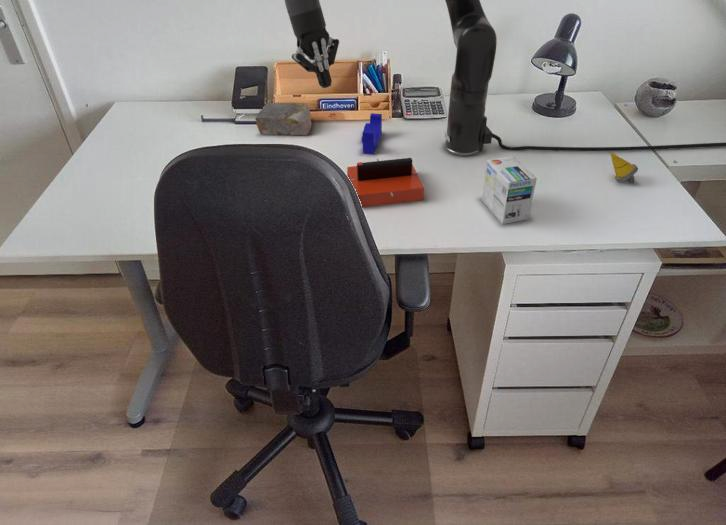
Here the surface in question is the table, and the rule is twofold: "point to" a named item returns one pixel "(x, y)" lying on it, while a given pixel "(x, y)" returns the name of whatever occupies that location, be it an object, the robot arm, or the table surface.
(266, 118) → the geological specimen
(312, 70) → the robot arm
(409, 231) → the table surface
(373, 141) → the cable clip
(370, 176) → the black divider wall
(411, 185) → the red flat rectangular block
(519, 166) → the light bulb box
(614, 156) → the yellow cone
